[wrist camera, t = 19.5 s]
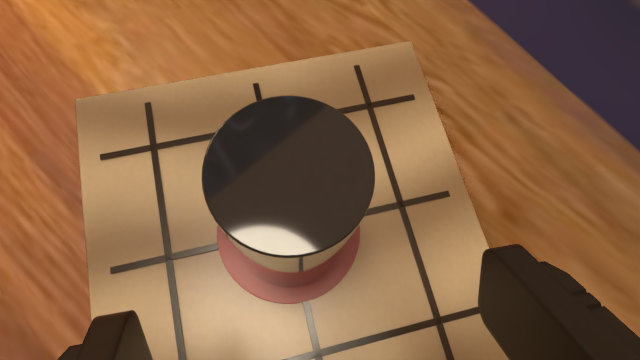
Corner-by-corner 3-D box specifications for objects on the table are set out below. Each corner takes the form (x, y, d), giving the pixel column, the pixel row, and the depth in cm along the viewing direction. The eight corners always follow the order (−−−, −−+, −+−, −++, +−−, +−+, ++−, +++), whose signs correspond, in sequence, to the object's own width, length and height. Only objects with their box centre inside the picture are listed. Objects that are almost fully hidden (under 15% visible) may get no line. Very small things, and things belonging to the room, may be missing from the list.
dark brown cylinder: (226, 193, 20) (189, 111, 13) (329, 171, 21) (349, 81, 14) (246, 300, 19) (217, 277, 11) (356, 272, 19) (397, 234, 12)
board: (87, 113, 23) (72, 97, 22) (404, 56, 26) (411, 38, 24) (120, 501, 17) (103, 517, 16) (522, 380, 20) (542, 383, 18)
